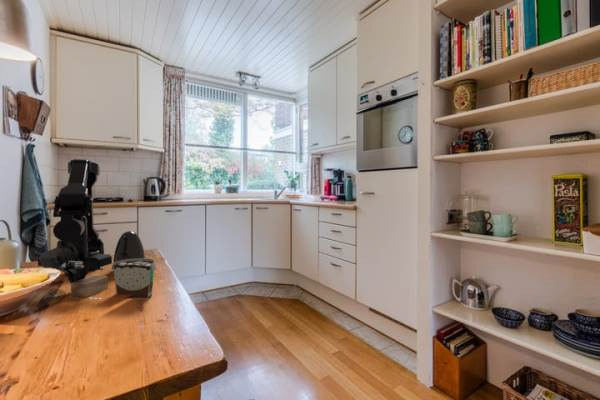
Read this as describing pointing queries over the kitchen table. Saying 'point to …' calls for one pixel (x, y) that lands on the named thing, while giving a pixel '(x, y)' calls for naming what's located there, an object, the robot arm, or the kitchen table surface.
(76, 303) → the kitchen table surface
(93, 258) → the robot arm
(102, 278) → the grey rectangular block
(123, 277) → the food container
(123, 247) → the dark grey rounded cone
